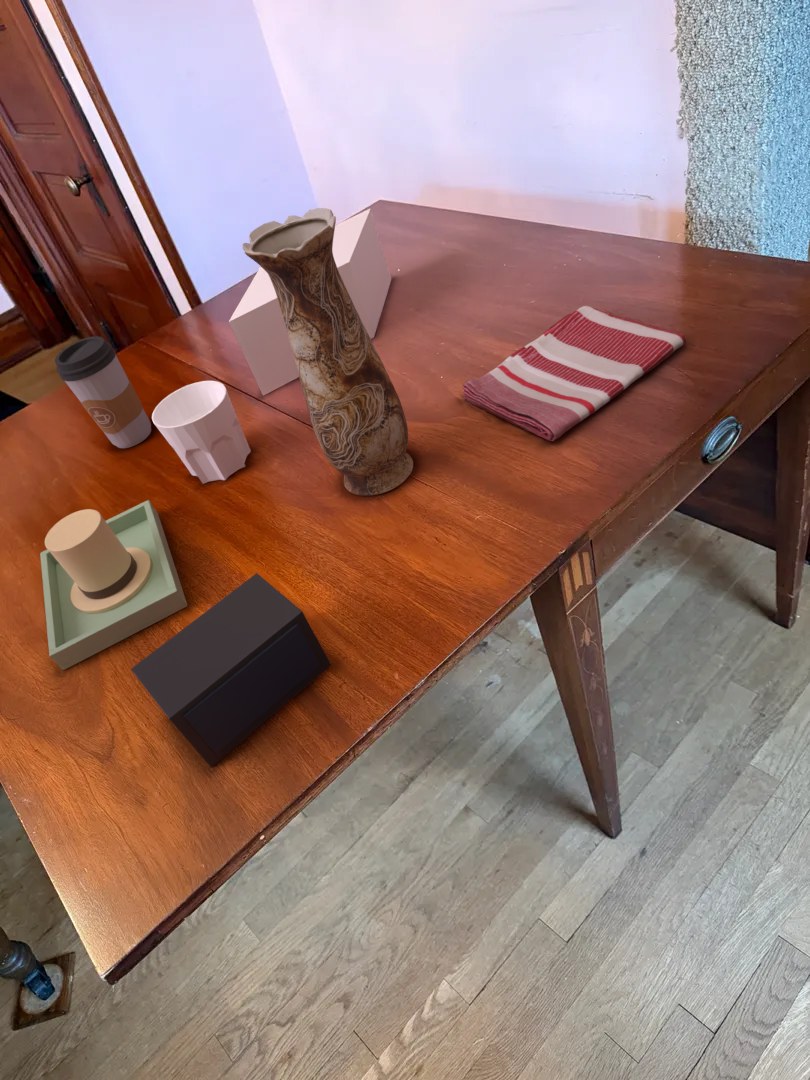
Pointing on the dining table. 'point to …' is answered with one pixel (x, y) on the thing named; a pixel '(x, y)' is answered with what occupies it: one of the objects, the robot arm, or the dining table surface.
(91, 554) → the hat
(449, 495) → the dining table surface
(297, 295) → the vase
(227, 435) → the cup
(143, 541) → the tray
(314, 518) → the dining table surface
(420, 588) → the dining table surface
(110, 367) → the coffee cup
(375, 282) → the block
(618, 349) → the dish towel
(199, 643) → the black rectangular block
